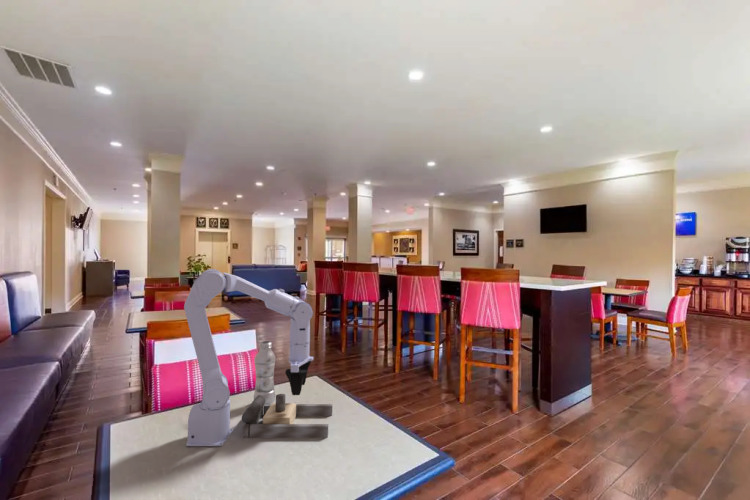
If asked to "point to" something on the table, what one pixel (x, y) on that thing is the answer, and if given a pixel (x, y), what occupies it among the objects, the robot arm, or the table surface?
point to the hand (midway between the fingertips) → (298, 389)
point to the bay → (284, 430)
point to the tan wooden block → (280, 412)
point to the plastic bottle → (265, 372)
